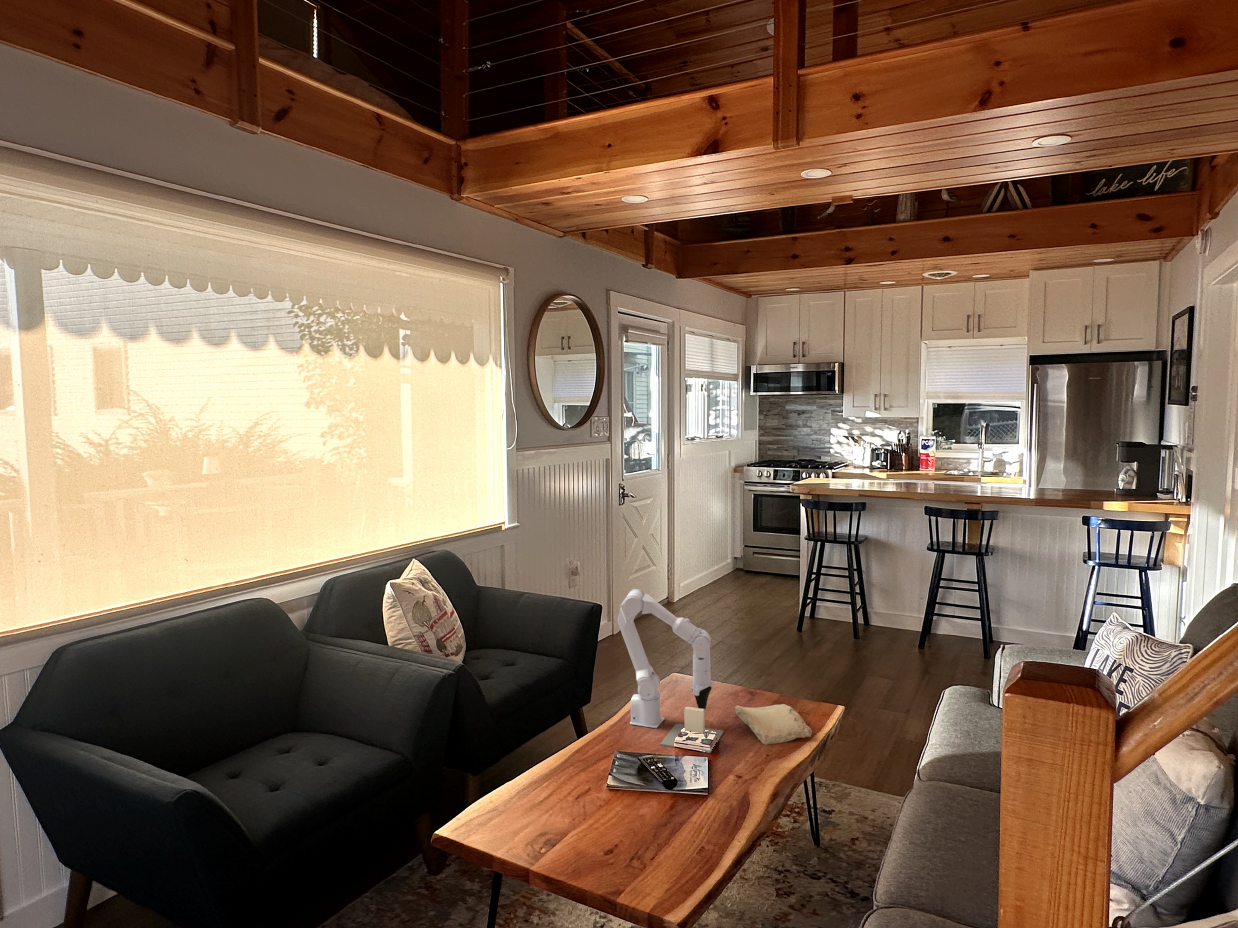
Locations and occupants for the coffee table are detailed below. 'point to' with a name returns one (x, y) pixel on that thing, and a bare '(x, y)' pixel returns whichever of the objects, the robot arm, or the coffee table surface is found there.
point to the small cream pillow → (774, 723)
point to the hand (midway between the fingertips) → (702, 709)
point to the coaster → (694, 719)
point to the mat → (677, 729)
